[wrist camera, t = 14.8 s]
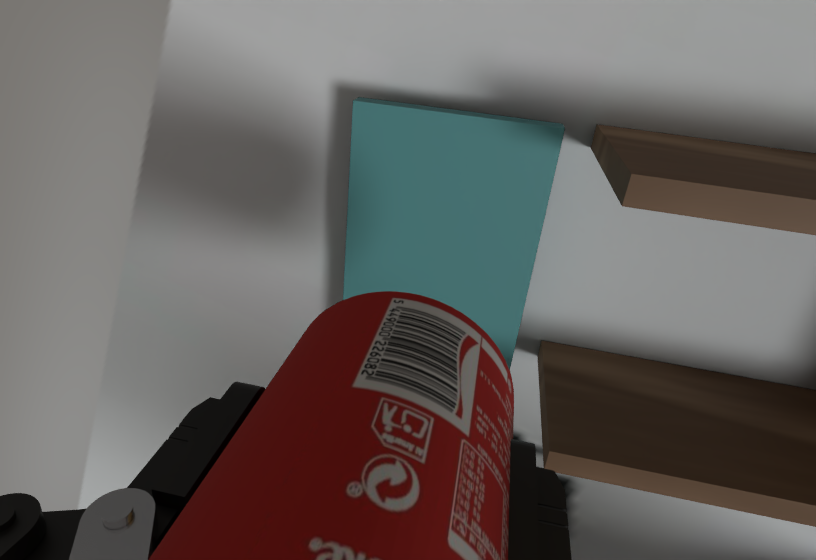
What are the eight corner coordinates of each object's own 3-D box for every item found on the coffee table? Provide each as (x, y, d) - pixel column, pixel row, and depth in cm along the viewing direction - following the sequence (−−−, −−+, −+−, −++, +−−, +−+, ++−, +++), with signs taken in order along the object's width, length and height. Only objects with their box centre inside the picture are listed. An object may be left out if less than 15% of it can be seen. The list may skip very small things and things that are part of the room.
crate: (903, 424, 26) (1044, 574, 19) (537, 356, 28) (544, 469, 21) (1064, 186, 21) (1345, 275, 14) (596, 124, 23) (631, 173, 16)
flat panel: (508, 373, 27) (340, 343, 28) (508, 361, 28) (345, 333, 28) (564, 128, 21) (353, 100, 22) (562, 123, 22) (359, 97, 23)
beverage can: (271, 368, 17) (-131, 934, 7) (386, 229, 14) (4, 830, 4) (424, 479, 18) (285, 1138, 7) (561, 369, 15) (651, 1181, 5)
